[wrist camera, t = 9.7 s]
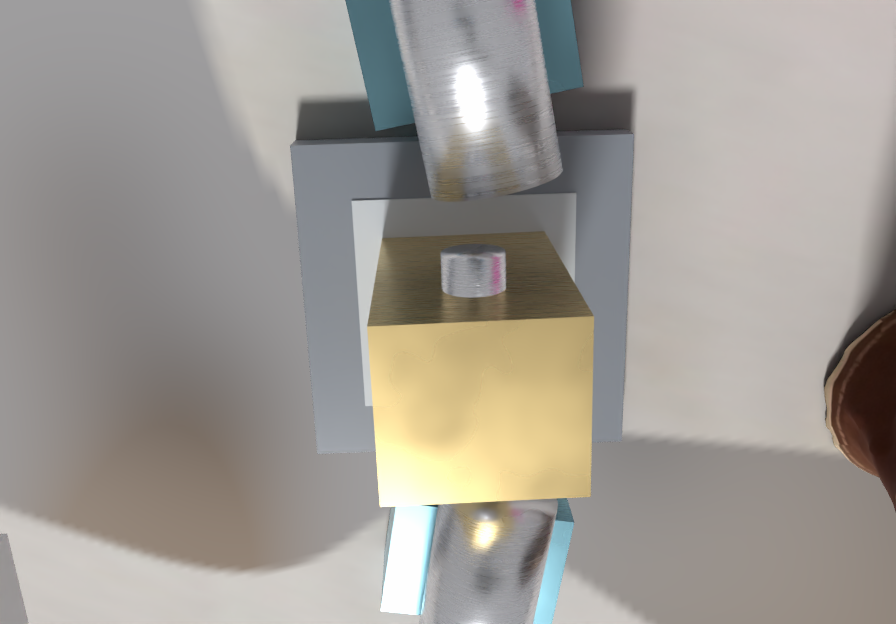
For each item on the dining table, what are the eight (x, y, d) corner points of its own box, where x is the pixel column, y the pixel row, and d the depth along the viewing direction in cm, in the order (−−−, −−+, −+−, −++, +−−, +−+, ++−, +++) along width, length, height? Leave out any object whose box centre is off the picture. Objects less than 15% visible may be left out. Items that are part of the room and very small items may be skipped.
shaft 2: (405, 406, 26) (401, 515, 20) (566, 426, 26) (607, 538, 21) (379, 588, 28) (369, 733, 22) (529, 604, 28) (556, 750, 23)
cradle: (295, 140, 23) (290, 146, 22) (625, 129, 24) (634, 134, 23) (320, 438, 26) (317, 454, 25) (614, 426, 26) (621, 442, 25)
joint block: (380, 208, 23) (364, 286, 16) (544, 202, 23) (594, 276, 16) (392, 400, 25) (382, 539, 18) (544, 393, 25) (589, 529, 18)
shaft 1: (334, -86, 22) (304, -123, 16) (530, -130, 21) (570, -183, 16) (393, 171, 24) (385, 220, 18) (571, 133, 24) (621, 170, 18)
